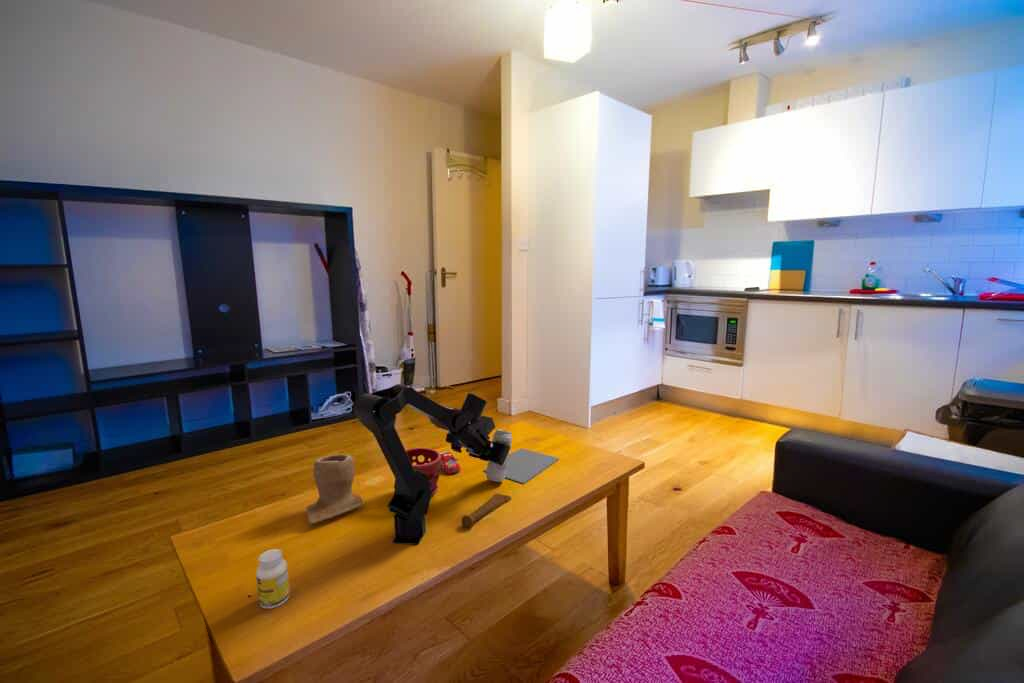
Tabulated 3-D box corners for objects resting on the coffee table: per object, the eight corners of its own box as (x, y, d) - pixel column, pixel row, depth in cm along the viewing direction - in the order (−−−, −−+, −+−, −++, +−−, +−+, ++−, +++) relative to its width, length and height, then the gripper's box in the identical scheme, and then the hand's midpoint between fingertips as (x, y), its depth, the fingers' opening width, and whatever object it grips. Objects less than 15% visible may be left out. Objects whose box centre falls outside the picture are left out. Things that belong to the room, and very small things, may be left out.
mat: (523, 484, 135) (523, 482, 135) (483, 471, 144) (483, 469, 144) (559, 459, 153) (559, 458, 153) (521, 449, 162) (521, 448, 162)
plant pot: (401, 509, 121) (399, 468, 119) (393, 488, 133) (391, 451, 131) (447, 499, 126) (446, 459, 125) (435, 480, 138) (434, 443, 137)
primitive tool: (496, 494, 130) (496, 483, 129) (513, 499, 127) (513, 487, 127) (459, 528, 113) (459, 515, 112) (477, 534, 110) (477, 521, 110)
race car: (462, 474, 143) (461, 462, 142) (445, 477, 141) (445, 465, 140) (451, 458, 155) (451, 447, 154) (436, 461, 153) (436, 450, 152)
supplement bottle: (252, 605, 87) (247, 560, 85) (276, 587, 92) (271, 544, 90) (273, 613, 85) (268, 566, 83) (296, 593, 90) (292, 549, 88)
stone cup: (351, 493, 130) (348, 445, 128) (368, 509, 122) (365, 457, 119) (296, 512, 120) (291, 460, 118) (311, 530, 112) (306, 475, 109)
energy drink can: (495, 477, 140) (504, 430, 142) (508, 482, 136) (517, 433, 138) (481, 476, 136) (490, 428, 138) (493, 482, 132) (503, 431, 134)
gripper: (505, 416, 122) (528, 441, 133) (455, 405, 133) (480, 429, 143) (488, 453, 117) (513, 476, 128) (438, 438, 128) (465, 460, 138)
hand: (492, 458), depth 134 cm, fingers closed
